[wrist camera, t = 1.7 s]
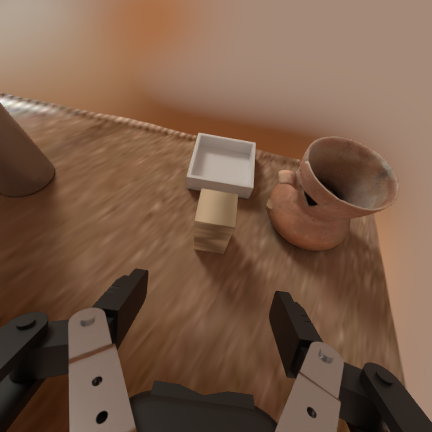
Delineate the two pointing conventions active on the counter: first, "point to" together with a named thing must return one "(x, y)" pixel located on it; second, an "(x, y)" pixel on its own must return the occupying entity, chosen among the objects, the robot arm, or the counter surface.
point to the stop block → (214, 220)
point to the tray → (222, 165)
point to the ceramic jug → (330, 192)
